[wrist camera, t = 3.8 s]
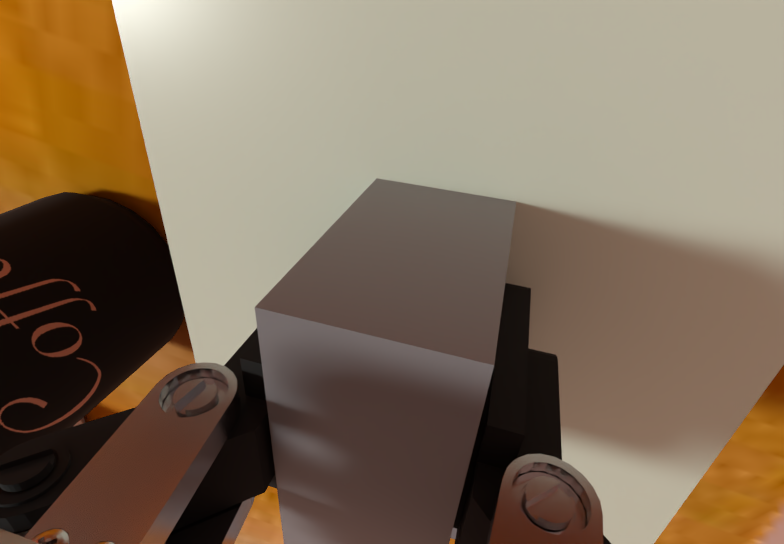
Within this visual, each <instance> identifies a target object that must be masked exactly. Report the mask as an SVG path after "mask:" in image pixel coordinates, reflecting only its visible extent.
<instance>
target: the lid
mask: <svg viewBox="0 0 784 544" xmlns="http://www.w3.org/2000/svg"><path fill="white" fill-rule="evenodd" d="M112 3H113V8H114V12H115V16H116V21H117V25H118V29H119V34H120V38H121V42H122V46H123V51H124V55H125V59H126V64H127V68H128V72H129V77H130V81H131V85H132V90H133V94H134V98H135V103H136V107H137V111H138V115H139V120H140V124H141V128H142V133H143V137H144V141H145V146H146V150H147V154H148V159H149V163H150V167H151V172H152V176H153V180H154V185H155V189H156V193H157V197H158V202H159V206H160V210H161V215H162V219H163V223H164V228H165V232H166V236H167V241H168V245H169V249H170V254H171V258H172V262H173V267H174V271H175V275H176V279H177V284H178V288H179V292H180V297H181V301H182V305H183V310H184V314H185V318H186V323H187V327H188V331H189V336H190V340H191V344H192V348H193V353H194V357H195V361H196V363H203V362H206V363H217V364H220V365H223V366H224V365H225V364H226V363H227V362H228V360H229V359H230V358H231V357H232V356H233V355H234V354H235V352H236V351H237V350H238V349H239V348H240V347H241V346H242V344H243V343H244V342H245V341H246V340H247V339H248V338H249V336H250V335H251V334H252V333H253V332H254V331H255V330H256V328H257V330H258V338H259V346H260V354H261V362H262V370H263V378H264V386H265V394H266V402H267V410H268V418H269V426H270V434H271V442H272V450H273V458H274V466H275V474H276V482H277V490H278V498H279V506H280V514H281V522H282V530H283V538H284V544H449V541H450V537H451V533H452V529H453V525H454V522H455V518H456V514H457V510H458V506H459V502H460V498H461V494H462V490H463V486H464V482H465V478H466V474H467V470H468V466H469V463H470V459H471V455H472V451H473V447H474V443H475V439H476V435H477V431H478V427H479V423H480V419H481V415H482V411H483V407H484V404H485V400H486V396H487V392H488V388H489V384H490V380H491V376H492V372H493V368H494V363H495V356H496V348H497V341H498V334H499V326H500V319H501V311H502V304H503V297H504V289H505V283H509V284H514V285H518V286H523V287H528V288H531V301H530V324H529V346H528V348H529V349H534V350H538V351H542V352H546V353H551V354H555V355H556V356H557V358H558V373H559V398H560V423H561V448H562V461H564V462H566V463H569V464H570V465H571V466H573V467H574V468H575V469H577V470H578V471H579V472H580V473H582V474H583V475H584V477H585V478H586V479H587V480H588V481H589V483H590V484H591V485H592V486H593V488H594V490H595V492H596V494H597V496H598V498H599V500H600V502H601V508H602V513H603V535H604V536H605V537H606V538H607V539H608V540H609V542H610V543H611V544H654V543H655V541H656V540H657V538H658V537H659V536H660V534H661V533H662V532H663V530H664V529H665V527H666V526H667V525H668V523H669V522H670V521H671V519H672V518H673V516H674V515H675V514H676V512H677V511H678V510H679V508H680V507H681V505H682V504H683V503H684V501H685V500H686V499H687V497H688V496H689V494H690V493H691V492H692V490H693V489H694V487H695V486H696V485H697V483H698V482H699V481H700V479H701V478H702V476H703V475H704V474H705V472H706V471H707V470H708V468H709V467H710V465H711V464H712V463H713V461H714V460H715V459H716V457H717V456H718V454H719V453H720V452H721V450H722V449H723V448H724V446H725V445H726V443H727V442H728V441H729V439H730V438H731V437H732V435H733V434H734V432H735V431H736V430H737V428H738V427H739V426H740V424H741V423H742V421H743V420H744V419H745V417H746V416H747V414H748V413H749V412H750V410H751V409H752V408H753V406H754V405H755V403H756V402H757V401H758V399H759V398H760V397H761V395H762V394H763V392H764V391H765V390H766V388H767V387H768V386H769V384H770V383H771V381H772V380H773V379H774V377H775V376H776V375H777V373H778V372H779V370H780V369H781V368H782V366H783V365H784V0H112Z"/></svg>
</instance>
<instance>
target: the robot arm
mask: <svg viewBox="0 0 784 544" xmlns="http://www.w3.org/2000/svg"><path fill="white" fill-rule="evenodd" d="M530 301H531V288H528V287H523V286H518V285H514V284H509V283H505V289H504V297H503V304H502V311H501V319H500V326H499V334H498V341H497V348H496V356H495V363H494V368H493V372H492V376H491V380H490V384H489V388H488V392H487V396H486V400H485V404H484V407H483V411H482V415H481V419H480V423H479V427H478V431H477V435H476V439H475V443H474V447H473V451H472V455H471V459H470V463H469V466H468V470H467V474H466V478H465V482H464V486H463V490H462V494H461V498H460V502H459V506H458V510H457V514H456V518H455V522H454V525H453V528H456V529H457V533H456V539H455V544H611V543H610V542H609V540H608V539H607V538H606V537H605V536H604V535H603V513H602V508H601V502H600V500H599V498H598V496H597V494H596V492H595V490H594V488H593V486H592V485H591V484H590V483H589V481H588V480H587V479H586V478H585V477H584V475H583V474H582V473H580V472H579V471H578V470H577V469H575V468H574V467H573V466H571V465H570V464H569V463H566V462H564V461H562V448H561V423H560V398H559V373H558V358H557V356H556V355H555V354H551V353H546V352H542V351H538V350H534V349H529V348H528V346H529V324H530ZM268 486H271V487H274V488H277V482H276V474H275V466H274V458H273V450H272V442H271V434H270V426H269V418H268V410H267V402H266V394H265V386H264V378H263V370H262V362H261V354H260V346H259V338H258V330H257V328H256V330H255V331H254V332H253V333H252V334H251V335H250V336H249V338H248V339H247V340H246V341H245V342H244V343H243V344H242V346H241V347H240V348H239V349H238V350H237V351H236V352H235V354H234V355H233V356H232V357H231V358H230V359H229V360H228V362H227V363H226V364H225V365H224V366H223V365H220V364H217V363H206V362H203V363H196V364H190V365H187V366H184V367H181V368H178V369H176V370H175V371H173V372H171V373H169V374H168V375H166V376H165V377H164V378H163V379H162V380H160V381H159V382H158V383H157V384H156V385H155V386H154V388H153V389H152V390H151V391H150V392H149V393H148V395H147V396H146V397H145V398H144V399H143V400H142V401H141V403H140V404H139V405H138V406H137V407H136V408H132V409H129V410H126V411H123V412H119V413H116V414H113V415H109V416H106V417H103V418H100V419H96V420H93V421H90V422H86V423H83V424H80V425H77V426H73V427H70V428H67V429H63V430H60V431H57V432H54V433H50V434H47V435H44V436H40V437H37V438H34V439H31V440H29V441H26V442H24V443H21V444H19V445H17V446H15V447H13V448H12V449H10V450H8V451H7V452H5V453H3V454H2V455H0V544H234V542H235V540H236V538H237V536H238V534H239V532H240V530H241V528H242V525H243V523H244V521H245V519H246V517H247V515H248V513H249V511H250V508H251V506H252V504H253V501H254V497H255V496H257V495H259V494H262V493H264V492H265V491H266V489H267V487H268Z"/></svg>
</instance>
